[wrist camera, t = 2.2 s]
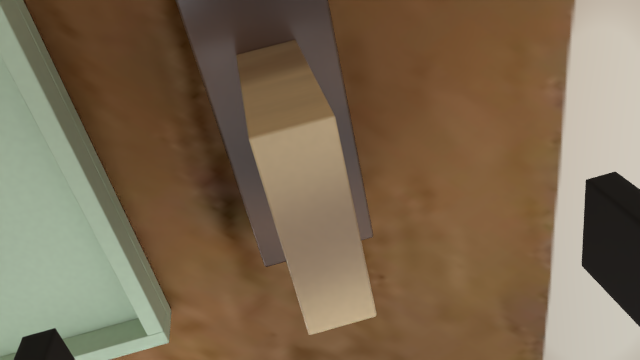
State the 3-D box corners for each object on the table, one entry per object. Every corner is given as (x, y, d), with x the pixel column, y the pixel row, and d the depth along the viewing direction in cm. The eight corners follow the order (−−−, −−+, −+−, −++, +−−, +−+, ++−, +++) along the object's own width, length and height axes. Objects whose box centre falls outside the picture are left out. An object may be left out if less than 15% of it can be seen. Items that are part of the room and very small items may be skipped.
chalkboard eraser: (177, -26, 21) (155, 55, 12) (303, -57, 21) (374, -2, 12) (258, 223, 27) (284, 400, 18) (355, 197, 27) (428, 358, 18)
